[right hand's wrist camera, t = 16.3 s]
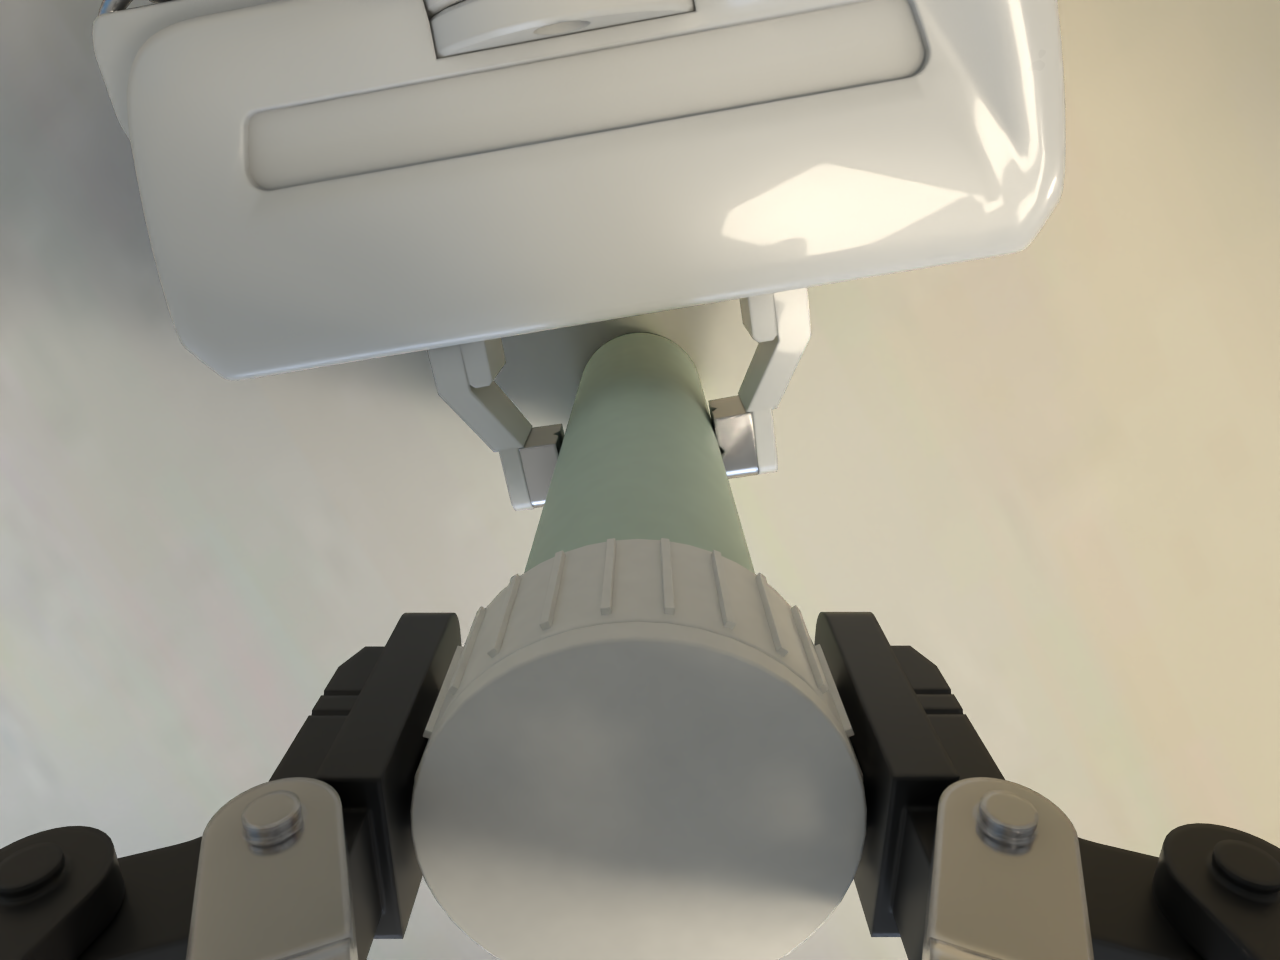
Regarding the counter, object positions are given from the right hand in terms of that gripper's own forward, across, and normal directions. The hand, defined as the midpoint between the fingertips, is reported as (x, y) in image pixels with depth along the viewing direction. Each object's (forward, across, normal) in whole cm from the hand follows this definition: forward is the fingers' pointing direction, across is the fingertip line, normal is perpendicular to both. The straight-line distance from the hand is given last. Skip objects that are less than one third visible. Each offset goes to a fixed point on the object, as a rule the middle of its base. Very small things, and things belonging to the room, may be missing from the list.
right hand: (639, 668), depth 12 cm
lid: (-3, 0, 0) cm, 3 cm away
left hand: (+10, 0, -1) cm, 10 cm away
